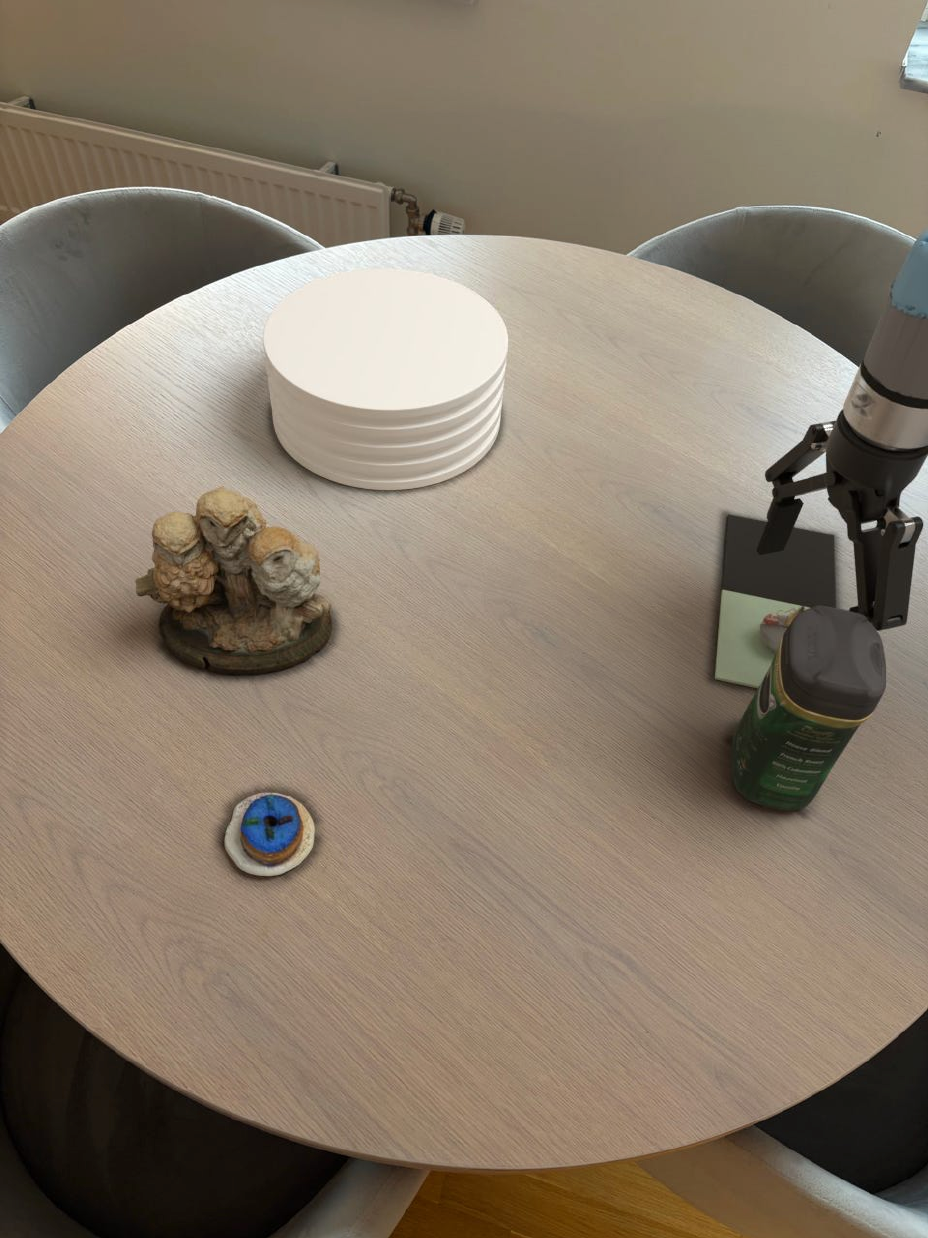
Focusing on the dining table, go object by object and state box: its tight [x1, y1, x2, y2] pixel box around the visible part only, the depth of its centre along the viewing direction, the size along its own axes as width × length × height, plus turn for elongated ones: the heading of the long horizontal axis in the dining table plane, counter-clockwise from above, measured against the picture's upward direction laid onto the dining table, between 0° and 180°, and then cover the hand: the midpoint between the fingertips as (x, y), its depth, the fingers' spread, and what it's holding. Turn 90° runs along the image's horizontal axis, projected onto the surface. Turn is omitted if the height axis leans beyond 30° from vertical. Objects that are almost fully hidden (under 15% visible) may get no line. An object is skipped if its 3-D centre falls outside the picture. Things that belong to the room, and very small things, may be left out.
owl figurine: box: [134, 486, 333, 675], centre depth 88 cm, size 18×12×17 cm, turn 94°
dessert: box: [223, 792, 316, 877], centre depth 80 cm, size 8×7×6 cm
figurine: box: [760, 606, 805, 653], centre depth 95 cm, size 5×4×6 cm
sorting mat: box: [714, 513, 837, 689], centre depth 101 cm, size 24×12×1 cm, turn 167°
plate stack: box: [262, 267, 509, 491], centre depth 113 cm, size 28×28×12 cm
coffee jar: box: [730, 606, 887, 812], centre depth 81 cm, size 10×8×19 cm
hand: (803, 600), depth 91 cm, fingers open, 13 cm apart
